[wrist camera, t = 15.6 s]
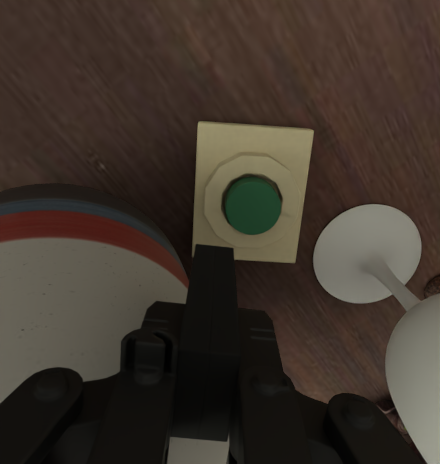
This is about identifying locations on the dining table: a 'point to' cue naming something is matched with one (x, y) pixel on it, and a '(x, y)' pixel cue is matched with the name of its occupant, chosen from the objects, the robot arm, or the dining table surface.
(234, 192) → the button
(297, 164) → the button box
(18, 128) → the dining table surface
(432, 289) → the stone
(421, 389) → the wineglass
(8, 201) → the vase
